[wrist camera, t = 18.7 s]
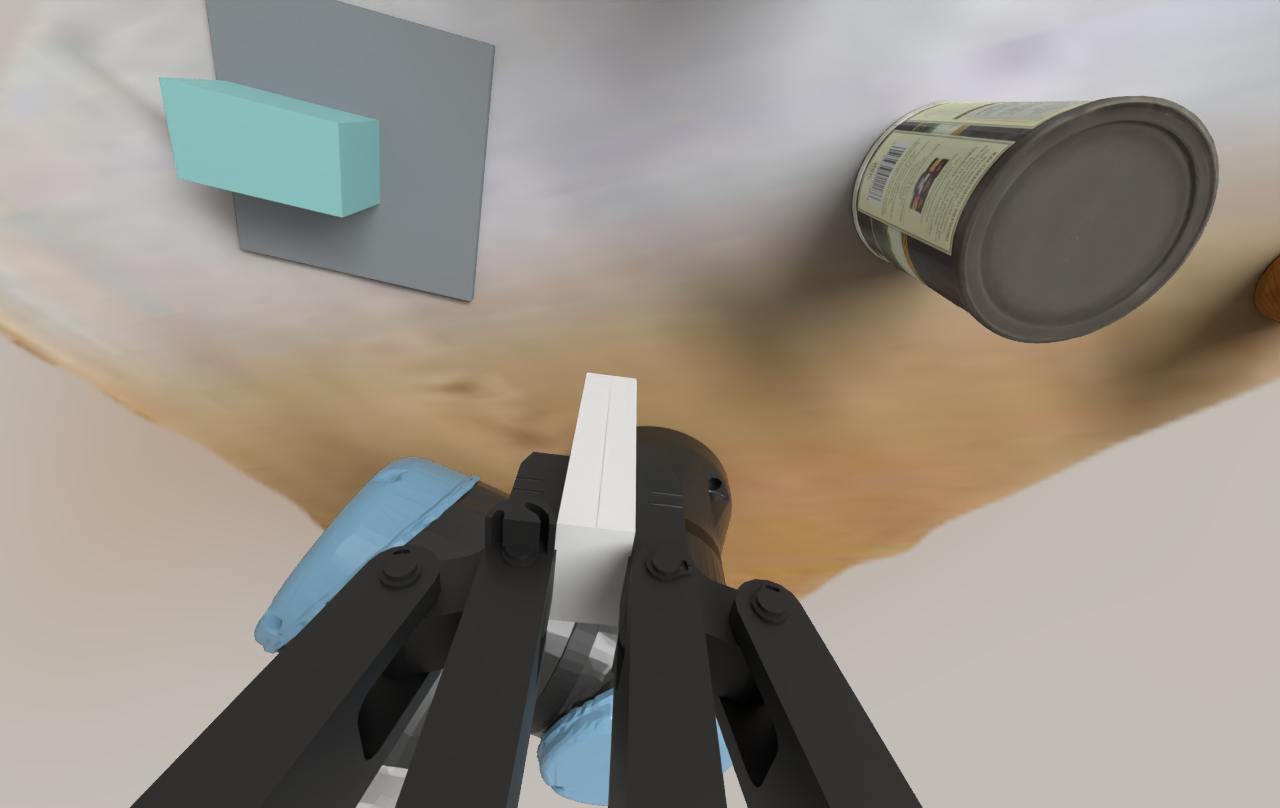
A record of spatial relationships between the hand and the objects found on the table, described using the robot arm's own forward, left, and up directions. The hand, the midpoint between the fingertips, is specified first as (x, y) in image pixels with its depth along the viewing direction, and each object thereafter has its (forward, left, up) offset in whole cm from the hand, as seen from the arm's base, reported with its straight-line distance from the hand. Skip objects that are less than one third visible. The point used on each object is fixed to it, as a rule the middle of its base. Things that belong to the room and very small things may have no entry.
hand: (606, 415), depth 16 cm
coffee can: (+8, -19, -24) cm, 31 cm away
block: (+1, +17, -21) cm, 26 cm away
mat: (+1, +18, -24) cm, 30 cm away
